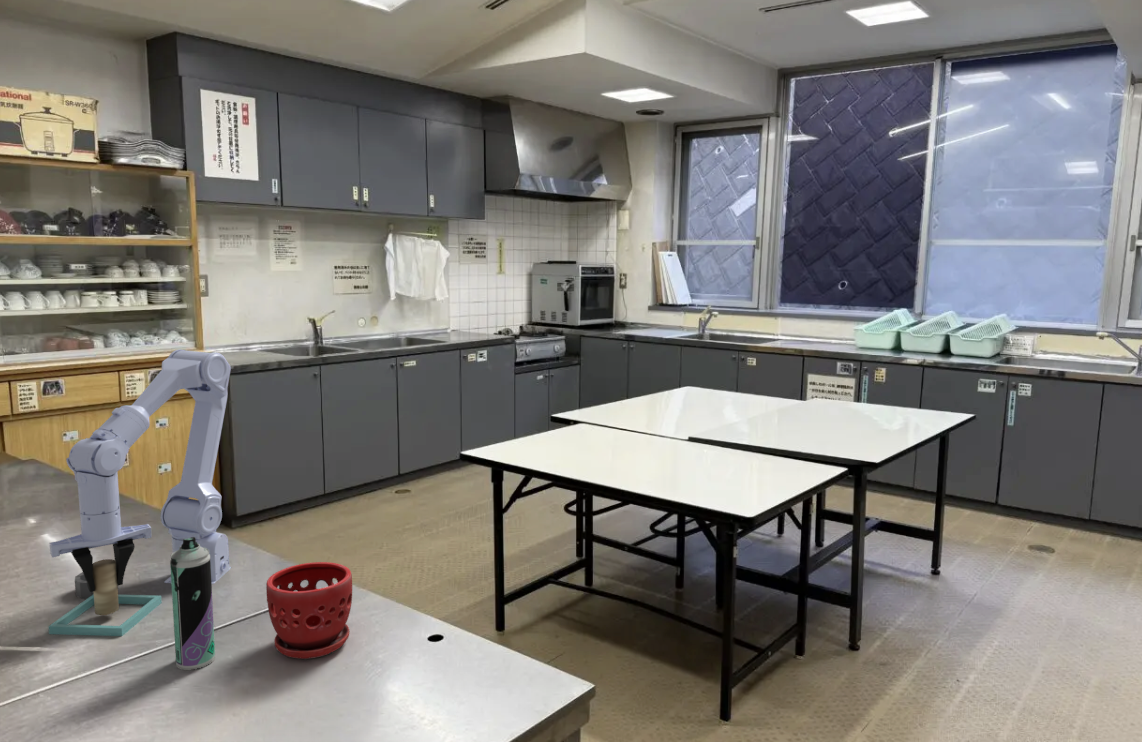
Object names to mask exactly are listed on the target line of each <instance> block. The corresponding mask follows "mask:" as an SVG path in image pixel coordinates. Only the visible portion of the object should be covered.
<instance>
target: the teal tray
mask: <svg viewBox="0 0 1142 742" xmlns="http://www.w3.org/2000/svg"><path fill="white" fill-rule="evenodd" d="M162 601H163V600H162V595H154V594H153V595H150V594H149V595H146V594H119V593H118V603H119V605H143V606H142V607H141V608H140V609H139V610H137V611H136V612H134V614H132V615H131V616H130V617H129V618H128V619H126V620H125V621H124V622H122V624H120V625H104V624H103V625H101V624H100V625H99V624H97V625H96V624H70V623H72V622H73V621H74V620H76V619H77V618H78V617H80V616H81V615H82V614H84V613H85V612H86V611H89V609H90V608H91V607H93V606H94V594H93V595H92V596H90V597H89V598H88V599H84V600H83V601H82V602H80V603H79V604H78V605H76V606H75V607H74V608H72V609H70V610H69V611H68V612H66V613H65V614H64V615H62V616H60V618H58V619H56V620H55V621H54V622H52V623H51V624H50V625H48V626H47V628H48V635H73V636H74V635H75V636H98V637H99V636H101V637H103V636H104V637H123V636H124V635H126V634H127V633H128V632H129V631H130V630H131V629H132V628H134V627H135V626H136V625H137V624H139V622H141V621H142V620H143V619H145V617H147V616H148V615H149V614H150V613H152V612H153V610H155V609H156V608H158V607H159V606H160V605H161V604H162Z"/></svg>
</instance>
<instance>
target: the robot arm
mask: <svg viewBox="0 0 1142 742" xmlns="http://www.w3.org/2000/svg"><path fill="white" fill-rule="evenodd" d="M231 369H232V366H231V364H230V363H229V362H228V360H227V359H226V357H225V356H224V355H223V354H222V353H220V352H217V351H216V352H215V351H212V352H206V351H204V352H203V351H197V350H196V351H195V350H186V349H175V350H173V351H172V352H171V353H170V354H169V355H168V357H166V358H165V359H164V360H162V361H161V370H160V371H159V372H158V374H157V375H156V376H154V377H155V378H154V379H152V381H151V382H150V383H149V384H148V385H147V387H146V388H145V389H144V391H142V392H141V394H140V395H139V396H138V398H137V399H136V400H135V401H134V402H133V403H132V404H131V405H121V406H120V407H116V408H114V409H113V410H112V411H111V415H110V417H108V419H106V420H105V422H104V423H103V424H101V425H100V426H99V427H98V428H97V429H95V430H94V431H93V432H92V434H91V435H90V437H89V438H88V437H86V438H84V439H80V440H78V441H77V442H76V443H75V444H73V446H72V447H71V449H70V451H69V455H68V457H67V458H66V460H65V461H66V464H67V466H68V468H69V469H70V470H71V471H72V472H73V475H74V480H75V481H76V483H77V491H78V492H77V494H78V504H79V505H78V507H79V518H80V531H81V534H77V535H73V536H70V537H68V538H64V539H61V540H56V541H51V542H49V543H48V544H49V554H50V556H51V558H56V557H57V558H58V557H60V556H61V555H64V554H69V553H71V555H72V557H73V559H74V560H75V562H76V563H77V564H78V566H79V567H80V569H81V572H83V573H84V576H85V578H86V582H87V586H88V589H89V591H90V592H93V591H95V584H94V578H93V563H94V562H93V555H92V551H91V550H90V549H93V548H94V549H95V548H99V547H105V546H109V545H112V548H113V555H114V560H115V561H116V573H117V584H118V586H123V584H124V578H125V572H126V569H127V566H128V564H129V560H130V558H131V557H132V554H133V552H134V550H135V542H134V541H135V540H140V539H143V538H144V539H151V538H152V537H153V536H152V527H151V525H150V524H149V523H146V524H141V525H130V526H122V522H121V521H122V519H121V507H120V493H119V492H120V491H119V489H120V488H119V476H118V474H119V473H118V471H120V470H122V468H123V467H124V465H125V462H126V459H127V455H128V453H129V451H130V448H131V447H132V446H133V445H134V444H135V443H136V442H137V441H138V440H139V439H140V438H141V436H142V435H143V434H145V433H146V431H147V430H149V428H150V425H151V424H150V423H151V422H150V417H151V416H152V415H153V414H154V413H155V412H157V410H159V409H161V407H162V406H163V405H164V404H165V403H166V402H168V401H169V400H170V399H171V398H172V397H173V396H174V395H176V393H177V392H179V391H181V390H185V391H187V392H188V394H190V396H191V397H192V398H193V400H194V402H195V403H194V408H193V412H192V413H193V414H192V418H191V419H192V420H191V425H190V428H189V429H190V430H189V437H188V440H187V446H186V451H185V455H184V456H185V457H184V462H183V468H182V473H181V477H180V482H179V483H177V484H175V486H173V487H171V488H170V489H169V490H168V492H167V493H168V495H167V498H166V501H165V502H164V504H163V505H162V508H161V511H160V521H161V524H162V525H163V527H165V528H166V529H168V534H169V535H171V549H172V550H171V551H172V553H174V552H176V551H178V550H179V548H180V546H182V544H183V539H188V538H191V537H195V539H196V542H197V544H200V547H203V548H207V549H208V550H209V555H210V562H211V582H212V585H214V584H216V582H217V581H219V580H220V579H221V578H222V577H223V576H224V575H226V574H227V572H229V571H230V570H231V568H232V567H231V565H230V550H229V549H230V548H229V547H230V546H229V538H228V536H227V535H226V534H225V533H221V532H217V529H218V528H219V526H220V524H221V523H222V522H221V521H222V518H223V512H222V511H223V510H222V495H221V493H220V492H219V491H218V490H217V489H216V488H215V487H214V485H213V479H214V474H215V467H216V462H217V456H218V452H219V445H220V441H221V436H222V429H223V423H224V418H225V412H226V407H227V402H228V396H229V395H228V388H229V387H228V386H229V380H230V376H231ZM163 582H164V583H165V584H171V576H169V577H168V578H167V579H165V581H163Z"/></svg>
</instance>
